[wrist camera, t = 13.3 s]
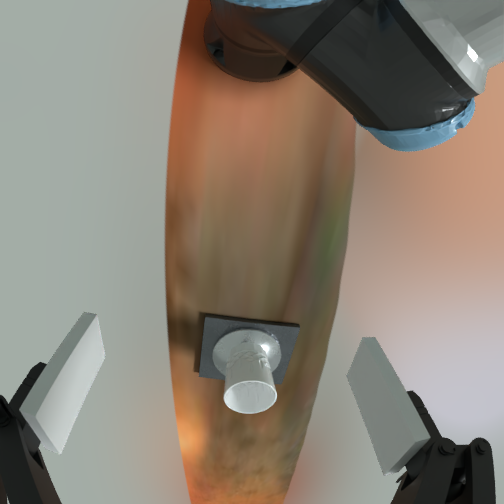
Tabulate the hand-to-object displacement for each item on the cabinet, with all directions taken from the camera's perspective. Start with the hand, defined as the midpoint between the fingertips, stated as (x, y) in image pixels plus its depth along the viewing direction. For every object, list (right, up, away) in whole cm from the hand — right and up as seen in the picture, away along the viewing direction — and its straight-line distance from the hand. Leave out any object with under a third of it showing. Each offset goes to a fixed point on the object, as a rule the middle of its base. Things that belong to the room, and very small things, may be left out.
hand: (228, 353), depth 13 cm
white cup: (0, -13, +36) cm, 39 cm away
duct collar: (0, -13, +38) cm, 40 cm away
